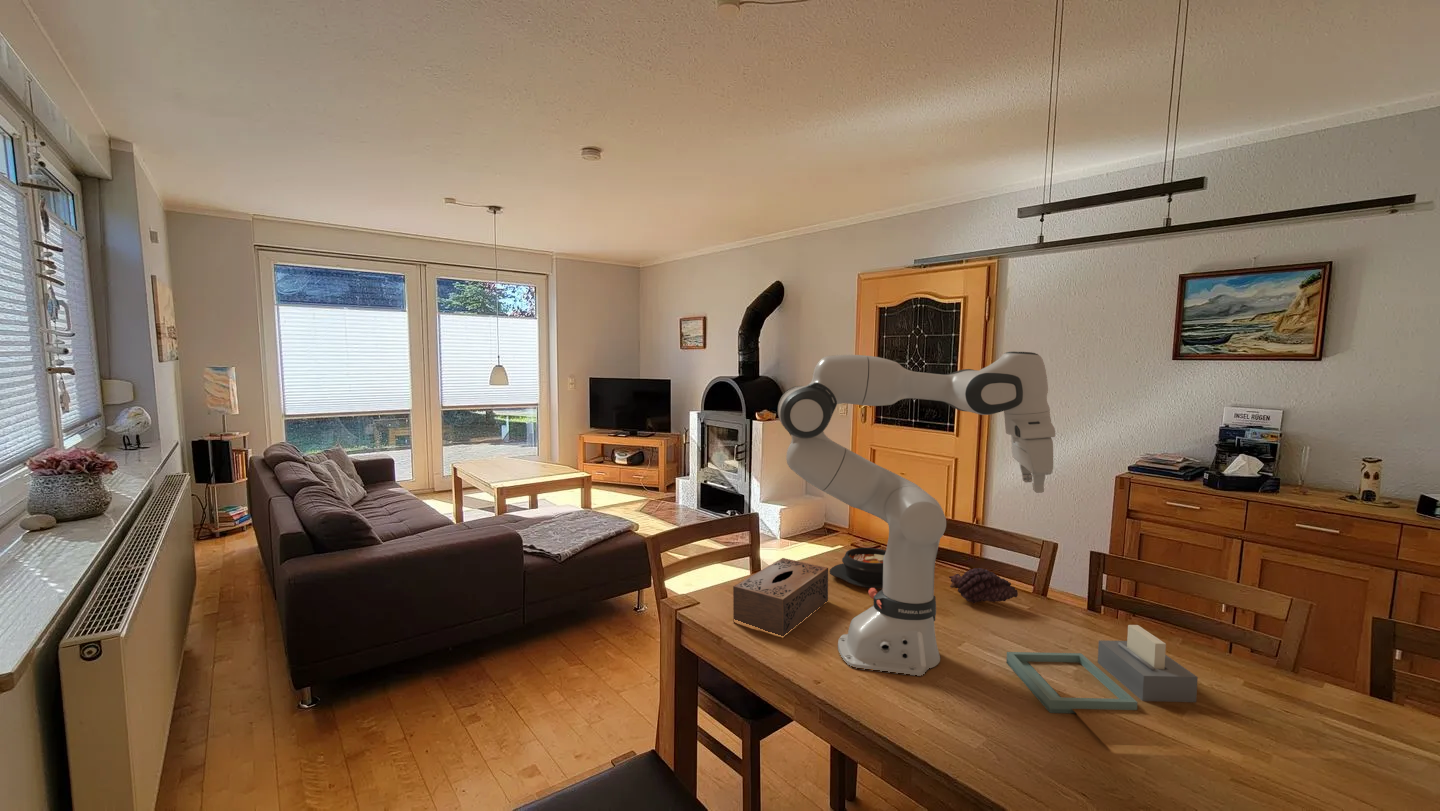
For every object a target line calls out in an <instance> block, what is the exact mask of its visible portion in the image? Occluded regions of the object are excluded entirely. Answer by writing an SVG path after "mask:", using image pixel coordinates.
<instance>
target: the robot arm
mask: <svg viewBox="0 0 1440 811" xmlns="http://www.w3.org/2000/svg"><path fill="white" fill-rule="evenodd" d="M1048 393H1049V384H1048V376H1047V370H1046V365H1045V362H1044V360H1043V357H1042V356H1041V355H1039V354H1038V353H1036V352H1032V351H1031V352H1030V351H1007V352H1004V353H1002V355H1001V356H1000V357H999V358H998V359H997V360H995V361H994V362H992V363H990V364H988V365H987V366H985V367H983V368H981V369H980V370H977V369H971V368H964V369H960V370H957V371H954V372H949V373H946V374H945V373H944V374H942V373H941V374H940V373H930V372H922V371H921V372H920V371H914V370H910V369H907V368H905V367H903V366H902V365H901V364H900V363H898V362H897V361H895V360H891V359H889V358H888V359H887V358H883V357H880V356H872V355H863V354H862V355H861V354H836V355H827V356H823V357H822V358H821V359H820V360H819V361H818V362H817V363H816V365H815V366H814V369H813V373H812V379H811V381H810V382H809V383H808V384H806V385H796V386H792V387H790V388H789V389H787V390H786V391H785V392H783V393H782V395H781V397H780V398H779V400H778V404H777V415H778V416H777V417H778V419H779V421H780V424H781V425H782V426H783V428H784V429H785V430H786V431H787V432H788V433H789V435H790V437H791V440H790V444H789V445H788V448H787V449H786V455H785V457H786V458H785V459H786V460H785V461H786V464H787V466H788V468H789V469H790V470H792V471H793V472H794V473H795V474H797V475H798V476H799V477H800V478H802V479H803V480H804V481H805V482H807V483H809V485H812V486H813V487H815V488H816V489H818V490H821V491H822V492H824V493H826V494H827V495H829V496H831V497H833V498H835V499H836V500H839V501H840V502H842V503H844V504H846V505H848V506H849V507H852V508H854V509H858V510H861V511H863V512H866V513H868V514H869V515H870V514H871V516H875V517H877V518H879V519H881V520H882V521H884V522H885V523H887V525H888V539H887V544H886V549H885V551H886V553H885V555H884V557H883V588H881V590H879V591H878V590H877V589H875V588H869V589H868V592H867V593H868V595H869V597H870V598H871V600H872V599H873V605H871V606H870V607H869V608H867V609H866V610H864V611H863V612H861V613H859V614H857V615H856V616H855V617H853V618H852V619H851V621H850V624H849V626H848V631H847V633H846V634H842V635H841V636H840V637H839V638H838V640H837V641H838V642H837V650H838V652H839V653H840V654H839V653H838V654H839V656H840V655H841V656H840V658H841V657H842V658H843V659H842V658H841V659H842V660H844V661H845V662H846V663H847V664H846V663H845V662H844V661H843V662H844V663H845V664H846V665H847V666H849V665H850V666H849V667H851V666H853V667H856V668H855V669H857V668H864V669H863V670H865V669H873V670H880V671H879V672H882V671H888V672H887V673H890V672H896V673H895V674H898V673H904V674H903V675H906V674H910V675H909V676H915V675H917V676H916V677H922V676H924V675H925V672H926V673H927V671H928V670H930V669H932V668H934V667H936V666H937V665H939V663H940V662H941V655H940V652H939V648H938V644H937V639H936V638H937V637H936V630H935V622H936V615H937V601H936V600H937V599H936V596H935V595H934V594H935V569H936V568H935V565H936V560H937V559H936V558H937V555H938V549H939V545H940V543H941V542H940V541H941V538H942V537H943V535H944V533H945V531H946V528H947V518H946V516H945V513H944V510H943V508H942V506H941V504H940V502H938V500H937V499H936V498H934V497H933V496H932V495H930V494H929V493H928V492H927V491H926V490H924V489H923V488H922V487H920V486H919V485H918V484H916V483H915V482H914V481H910V480H909V479H907V478H905V477H903V476H901V475H899V474H897V473H895V472H893V471H891V470H889V469H886V468H885V467H883V466H880V465H879V464H876V463H874V462H873V461H870V460H869V459H867V458H865V457H863V456H862V455H860V454H857V453H856V452H854V451H852V450H850V449H848V448H846V447H844V446H843V445H841V444H839V443H837V442H835V441H833V439H831V438H829V437H828V435H826V434H825V432H824V431H825V430H826V428H827V427H828V425H829V423H830V422H831V419H832V417H833V415H834V412H835V410H836V408H837V405H839V404H851V405H856V406H857V405H858V406H865V407H866V406H867V407H870V406H871V407H878V406H879V407H881V406H891V405H894V404H896V403H897V402H898V401H901V400H904V399H917V400H925V401H926V400H927V401H936V402H942V403H944V404H947V405H948V406H950V407H952V408H953V409H955V410H958V411H959V412H967V413H972V414H973V413H974V414H977V415H981V416H991V415H994V414H998V413H1001V412H1003V417H1004V426H1005V434H1006V435H1010V436H1011V437H1010V438H1011V440H1010V442H1011V454H1012V457H1013V459H1014V460H1015V461H1016V462H1018V463H1019V468H1020V473H1021V479H1022V482H1024V483H1032V484H1031V485H1032V490H1033V492H1034V493H1036V494H1038V493H1040V494H1041V493H1044V492H1045V488H1044V487H1045V485H1044V484H1045V480H1046V476H1049V475H1052V474H1053V470H1054V442H1053V441H1054V440H1053V439H1052V438H1055V436H1056V430H1055V429H1056V428H1055V426H1054V425H1053V422H1052V418H1051V409H1050V405H1049V403H1048ZM929 668H930V669H929ZM873 670H872V671H873ZM923 674H924V675H923ZM921 675H922V676H921Z"/></svg>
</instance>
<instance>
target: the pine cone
mask: <svg viewBox="0 0 1440 811" xmlns="http://www.w3.org/2000/svg"><path fill="white" fill-rule="evenodd" d="M948 577H949V579H950V582H951V583H950V585H949V587H950V588H951V589H957V592H958V593H959V594H960V596H961V598H963V599H964V600H965V601H967V602H970V603H972V604H976V603H979V602H980V603H981V602H986V601H988V602H991V603H996V602H1006V601H1007V600H1010V599H1012V598H1017V597H1018V595H1019V594H1018V589H1016V587H1015V586H1011V585H1012V583H1011V582H1009V581H1008V580H1007V579H1005V578H1001V576H998V575H997V574H995V573H994V572H993V571H990V570H988V569H986V568H985V569H984V568H982V567H978V568H976V567H975V568H972V569H969V570H967V571H965V572H964V573H963V574H962V576H961V575H960V573H957V574H954V575H953V576H951V575H950V576H948Z"/></svg>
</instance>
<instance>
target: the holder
mask: <svg viewBox="0 0 1440 811" xmlns="http://www.w3.org/2000/svg"><path fill="white" fill-rule="evenodd" d="M1097 647H1098V648H1097V649H1098V650H1097V664H1098V665H1100V666H1101V667H1102V668H1103V669H1104V670H1106V671H1107V673H1109V674H1110V675H1111V676H1113V677H1114V678H1115V679H1116V680H1117V681H1119V683H1121V684H1122V685H1123V686H1124V687H1125V688H1127V690H1129V691H1130V692H1131V693H1132V694H1133V695H1135V696H1136V697H1137V698H1138V699H1139V700H1140V701H1142V702H1167V703H1168V702H1169V703H1170V702H1175V703H1197V695H1198V694H1197V693H1198V692H1197V691H1198V678H1199V677H1198V676H1197V675H1196V674H1194V673H1193V672H1191V671H1190V670H1188V669H1187V668H1185V667H1184V666H1183V665H1181V664H1179V663H1178V662H1177V661H1176V660H1174V659H1172V658H1171V657H1169V656H1168V655H1167V654H1165V669H1164V670H1163V669H1155V668H1154V667H1153V666H1151V665H1150V664H1149V663H1147V662H1146V661H1145V660H1143V659H1142V658H1141V657H1139V656H1138V655H1137V654H1135V653H1134V652H1133V651H1131V650H1130V649H1129V648H1127V640H1098V646H1097Z"/></svg>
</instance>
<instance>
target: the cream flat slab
mask: <svg viewBox="0 0 1440 811" xmlns="http://www.w3.org/2000/svg"><path fill="white" fill-rule="evenodd" d="M1126 638H1127V640H1126V641H1127V648H1129V649H1130V650H1131V651H1133V652H1134V653H1135V654H1137V655H1138V656H1139V657H1141V658H1142V659H1143V660H1145V661H1146V662H1147V663H1149V664H1150V665H1151V666H1153V667H1154V668H1155V669H1163V670H1164V669H1165V655H1166V650H1167V648H1166V647H1167V644H1166V642H1164V641H1162V640H1161V639H1159V638H1158V637H1157V636H1156V635H1153V634H1152V633H1150V632H1149V631H1147V630H1146V629H1144V628H1143V627H1141V626H1140V625H1138V624H1127V637H1126Z"/></svg>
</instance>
